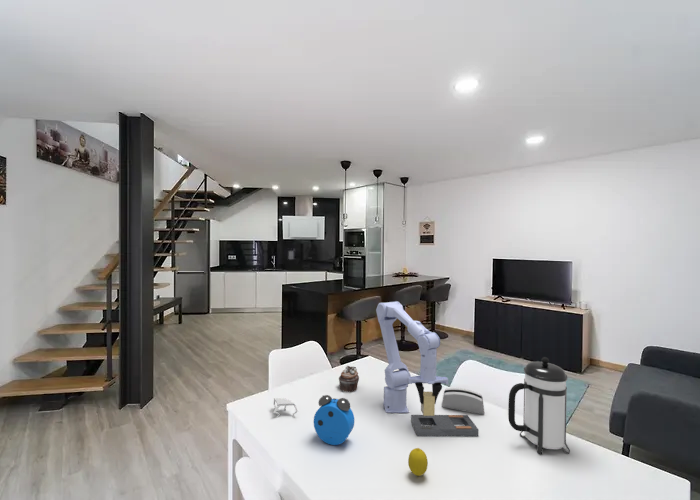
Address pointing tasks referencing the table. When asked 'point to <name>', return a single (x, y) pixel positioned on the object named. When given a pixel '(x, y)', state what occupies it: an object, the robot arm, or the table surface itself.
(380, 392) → the table surface
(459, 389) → the grey rounded block
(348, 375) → the cupcake
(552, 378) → the coffee press
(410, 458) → the lemon
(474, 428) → the rail plate
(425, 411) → the brass peg
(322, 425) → the alarm clock
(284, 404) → the miniature table
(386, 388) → the robot arm
